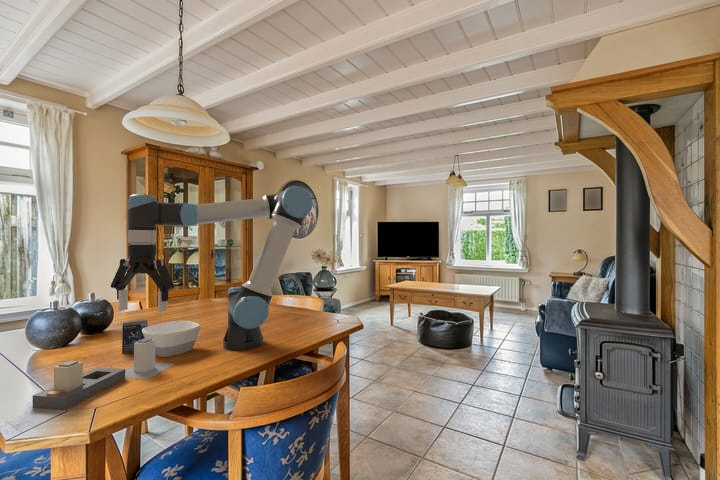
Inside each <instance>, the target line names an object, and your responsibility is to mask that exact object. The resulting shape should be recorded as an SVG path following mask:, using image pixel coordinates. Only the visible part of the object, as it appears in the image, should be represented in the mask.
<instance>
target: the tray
mask: <svg viewBox="0 0 720 480" xmlns="http://www.w3.org/2000/svg"><path fill="white" fill-rule="evenodd" d="M174 365H175V363H170V362H169V363H167V362H166V363H165V362H155V368H154V369H152V370H150V371H148V372H146V373H143V372H134V365H133V366H130V367H128V368H126V369H125V379H126V378H129V379H141V380H143V379H144V380H149V379H150V378H153V377H154V376H156V375H158V374H160V373H161V372H163V371H166V370H167V369H169V368H170V367H172V366H174Z"/></svg>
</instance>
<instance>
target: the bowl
mask: <svg viewBox="0 0 720 480" xmlns="http://www.w3.org/2000/svg"><path fill="white" fill-rule="evenodd" d="M200 330H201V325H200V324H199V323H197V322H194V321H189V320H173V321H166V322H161V323H160V322H159V323H156V324H152V325H148V327H145V328H143V329H142V333H143V335H144V338H145V339H152V340H155V357H161V358H167V357H169V358H170V357H174V356H177V355H181V354H184V353H187V352H191V351H192V350H193V349H194V346H195V343H196V340H197V338H198V336H199V333H200Z"/></svg>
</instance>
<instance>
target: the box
mask: <svg viewBox="0 0 720 480" xmlns="http://www.w3.org/2000/svg"><path fill="white" fill-rule="evenodd" d="M148 326H149V324H148V320H147V319H146V320H145V319H144V320H139V321H137V320H136V321H129V322H122V330H121V331H122V334H121V335H122V337H121V338H122V341H121V343H122V345H121V348H122V350H121V353H122V354H128V353H134V343H135V342H137V341H139V340H142V339H145V338H144V335H143V333H142V329H143V328H145V327H148Z"/></svg>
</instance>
